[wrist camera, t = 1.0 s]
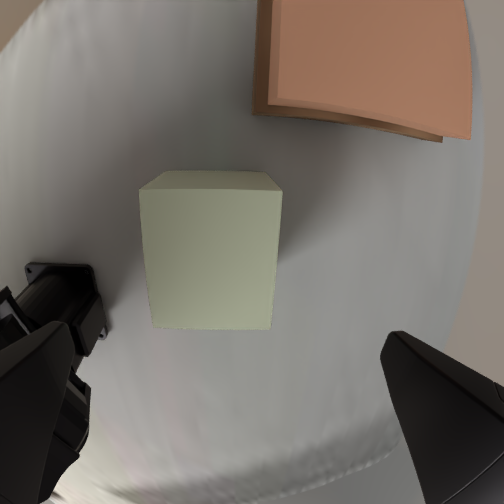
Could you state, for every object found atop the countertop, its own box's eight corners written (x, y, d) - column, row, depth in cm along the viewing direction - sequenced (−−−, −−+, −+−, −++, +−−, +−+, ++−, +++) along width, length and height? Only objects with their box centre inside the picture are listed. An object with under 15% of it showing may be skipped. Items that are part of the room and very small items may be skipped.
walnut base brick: (250, 115, 17) (255, 112, 14) (259, -39, 12) (264, -61, 9) (417, 138, 18) (442, 142, 15) (415, 0, 13) (436, -11, 10)
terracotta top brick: (267, 104, 14) (277, 97, 11) (274, -55, 9) (283, -81, 7) (439, 135, 15) (470, 140, 12) (433, -7, 11) (459, -18, 8)
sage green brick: (170, 274, 20) (153, 327, 14) (166, 170, 17) (138, 189, 12) (258, 275, 20) (270, 329, 15) (265, 171, 18) (282, 190, 12)
